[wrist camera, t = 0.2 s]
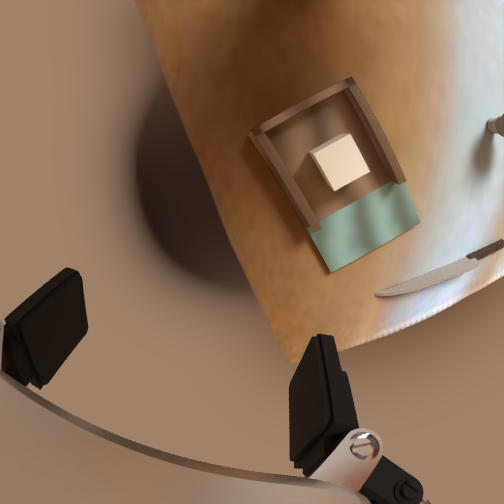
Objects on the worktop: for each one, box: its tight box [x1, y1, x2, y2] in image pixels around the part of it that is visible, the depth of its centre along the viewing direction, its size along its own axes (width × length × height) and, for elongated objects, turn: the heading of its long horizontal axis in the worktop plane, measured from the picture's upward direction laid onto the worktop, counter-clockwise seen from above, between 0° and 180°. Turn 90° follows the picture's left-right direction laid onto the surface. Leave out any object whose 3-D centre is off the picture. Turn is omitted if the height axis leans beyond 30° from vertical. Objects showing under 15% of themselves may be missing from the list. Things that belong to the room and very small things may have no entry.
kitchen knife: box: [374, 239, 504, 296], centre depth 39 cm, size 4×1×30 cm
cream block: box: [309, 134, 370, 191], centre depth 32 cm, size 5×5×5 cm
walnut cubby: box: [248, 77, 420, 273], centre depth 34 cm, size 16×23×4 cm
